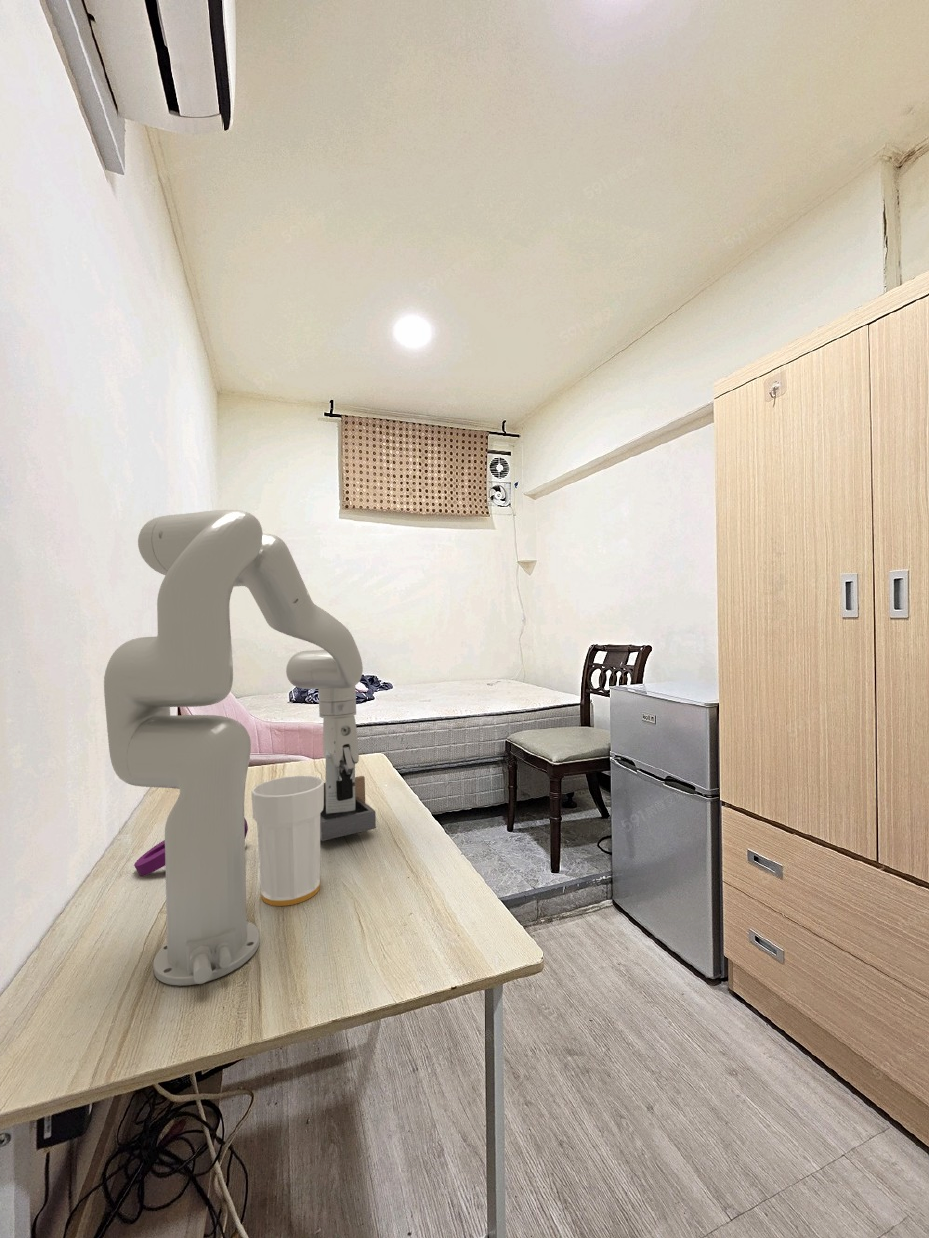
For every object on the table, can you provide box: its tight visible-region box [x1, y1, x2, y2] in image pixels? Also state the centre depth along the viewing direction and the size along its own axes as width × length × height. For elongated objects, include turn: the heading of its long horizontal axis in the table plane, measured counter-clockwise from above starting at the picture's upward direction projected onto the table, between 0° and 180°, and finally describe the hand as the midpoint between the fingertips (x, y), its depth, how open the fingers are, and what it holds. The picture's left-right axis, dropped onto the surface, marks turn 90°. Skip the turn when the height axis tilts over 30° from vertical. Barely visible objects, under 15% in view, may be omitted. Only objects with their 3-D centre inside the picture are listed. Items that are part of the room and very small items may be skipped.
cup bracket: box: [320, 775, 377, 842], centre depth 108 cm, size 14×16×9 cm
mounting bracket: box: [133, 816, 249, 877], centre depth 97 cm, size 9×8×18 cm
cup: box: [251, 775, 325, 907], centre depth 85 cm, size 11×11×17 cm
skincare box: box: [324, 752, 356, 814], centre depth 107 cm, size 6×4×12 cm
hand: (340, 794), depth 107 cm, fingers closed on skincare box, 5 cm apart
